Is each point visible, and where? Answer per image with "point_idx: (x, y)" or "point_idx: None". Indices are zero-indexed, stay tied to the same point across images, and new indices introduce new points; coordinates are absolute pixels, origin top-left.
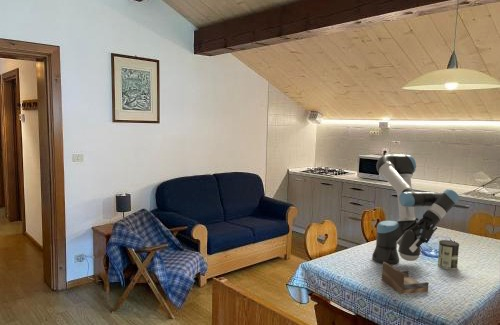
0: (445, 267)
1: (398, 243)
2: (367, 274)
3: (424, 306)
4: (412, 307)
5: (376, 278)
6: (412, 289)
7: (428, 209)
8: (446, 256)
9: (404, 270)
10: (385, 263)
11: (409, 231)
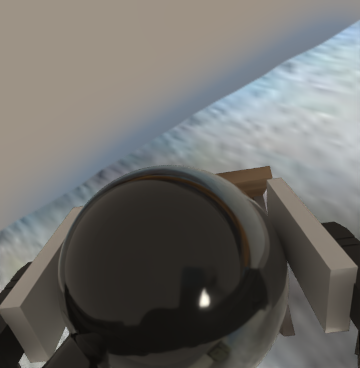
0: None
1: (268, 199)
2: (315, 165)
3: (42, 248)
4: (47, 206)
5: None
6: None
7: None
8: None
9: (288, 311)
10: (246, 170)
11: (100, 202)
